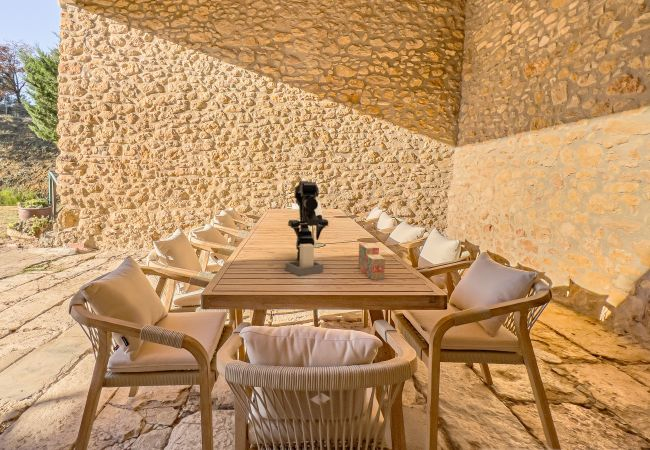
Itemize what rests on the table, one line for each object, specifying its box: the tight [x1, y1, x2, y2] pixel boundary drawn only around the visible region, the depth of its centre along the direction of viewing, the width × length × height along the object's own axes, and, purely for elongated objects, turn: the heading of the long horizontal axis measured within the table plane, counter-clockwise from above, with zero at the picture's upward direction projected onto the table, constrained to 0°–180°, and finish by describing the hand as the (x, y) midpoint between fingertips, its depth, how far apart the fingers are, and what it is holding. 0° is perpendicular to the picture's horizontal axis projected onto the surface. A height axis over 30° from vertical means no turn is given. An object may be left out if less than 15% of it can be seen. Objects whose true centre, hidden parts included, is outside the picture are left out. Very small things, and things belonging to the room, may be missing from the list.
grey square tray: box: [284, 260, 324, 277], centre depth 175 cm, size 13×13×4 cm
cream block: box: [300, 244, 315, 268], centre depth 173 cm, size 5×5×12 cm
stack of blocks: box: [358, 242, 386, 280], centre depth 174 cm, size 21×6×12 cm, turn 10°
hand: (308, 240), depth 181 cm, fingers open, 9 cm apart
